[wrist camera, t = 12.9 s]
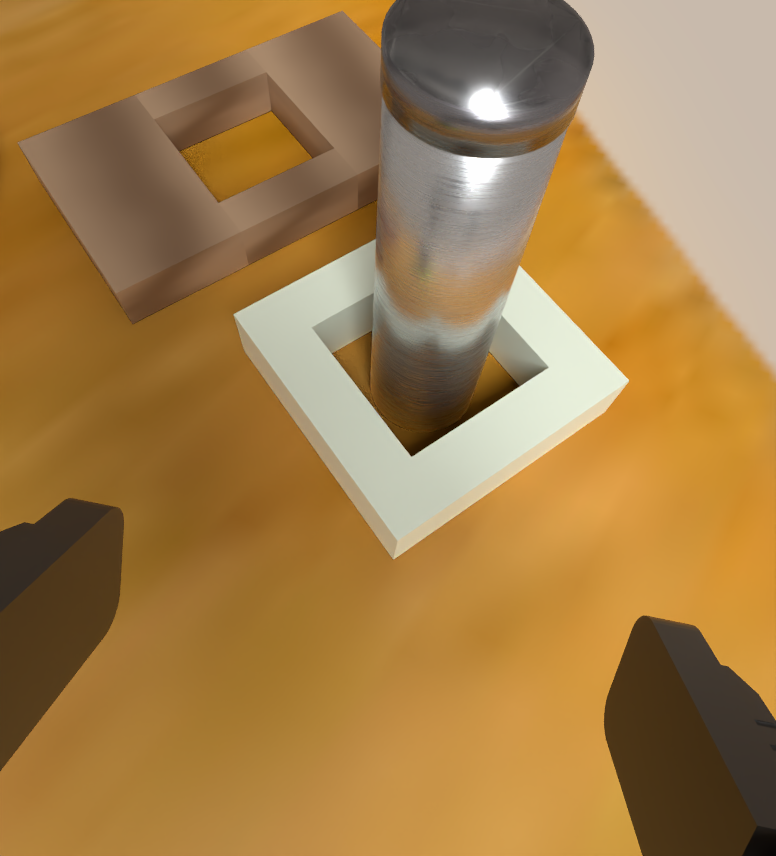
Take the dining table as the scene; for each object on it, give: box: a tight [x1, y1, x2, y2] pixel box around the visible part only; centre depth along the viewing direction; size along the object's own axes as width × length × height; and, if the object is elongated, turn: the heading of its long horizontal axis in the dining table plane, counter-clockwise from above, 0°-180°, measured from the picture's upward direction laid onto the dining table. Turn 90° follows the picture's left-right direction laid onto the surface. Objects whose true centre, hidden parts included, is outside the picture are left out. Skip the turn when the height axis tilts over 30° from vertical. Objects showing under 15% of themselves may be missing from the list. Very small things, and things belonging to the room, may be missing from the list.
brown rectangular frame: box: [18, 11, 382, 324], centre depth 29 cm, size 16×9×2 cm, turn 125°
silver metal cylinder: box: [370, 0, 594, 432], centre depth 19 cm, size 4×4×14 cm
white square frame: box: [233, 239, 629, 560], centre depth 24 cm, size 10×10×2 cm
